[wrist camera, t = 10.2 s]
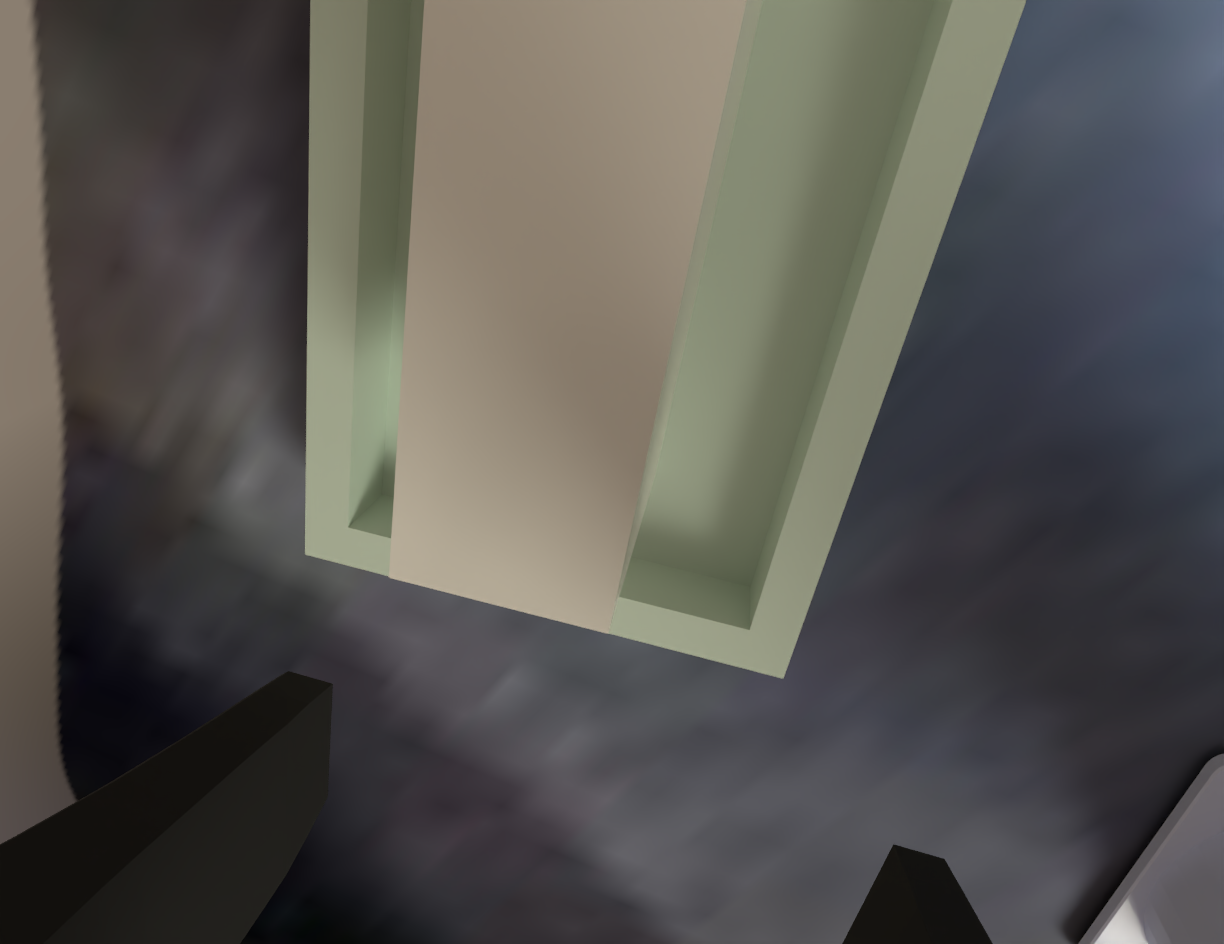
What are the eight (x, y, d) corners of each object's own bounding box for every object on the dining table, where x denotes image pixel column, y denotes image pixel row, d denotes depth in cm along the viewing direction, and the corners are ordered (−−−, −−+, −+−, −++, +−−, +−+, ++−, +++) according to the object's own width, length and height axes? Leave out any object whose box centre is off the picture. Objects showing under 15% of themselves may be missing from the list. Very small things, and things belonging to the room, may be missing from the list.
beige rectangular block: (793, -137, 12) (822, -345, 7) (655, 473, 17) (608, 633, 12) (582, -173, 13) (448, -401, 7) (504, 437, 17) (388, 577, 12)
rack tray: (1091, -302, 12) (1172, -407, 9) (780, 612, 19) (783, 678, 17) (395, -409, 12) (315, -528, 10) (356, 505, 20) (305, 554, 17)
